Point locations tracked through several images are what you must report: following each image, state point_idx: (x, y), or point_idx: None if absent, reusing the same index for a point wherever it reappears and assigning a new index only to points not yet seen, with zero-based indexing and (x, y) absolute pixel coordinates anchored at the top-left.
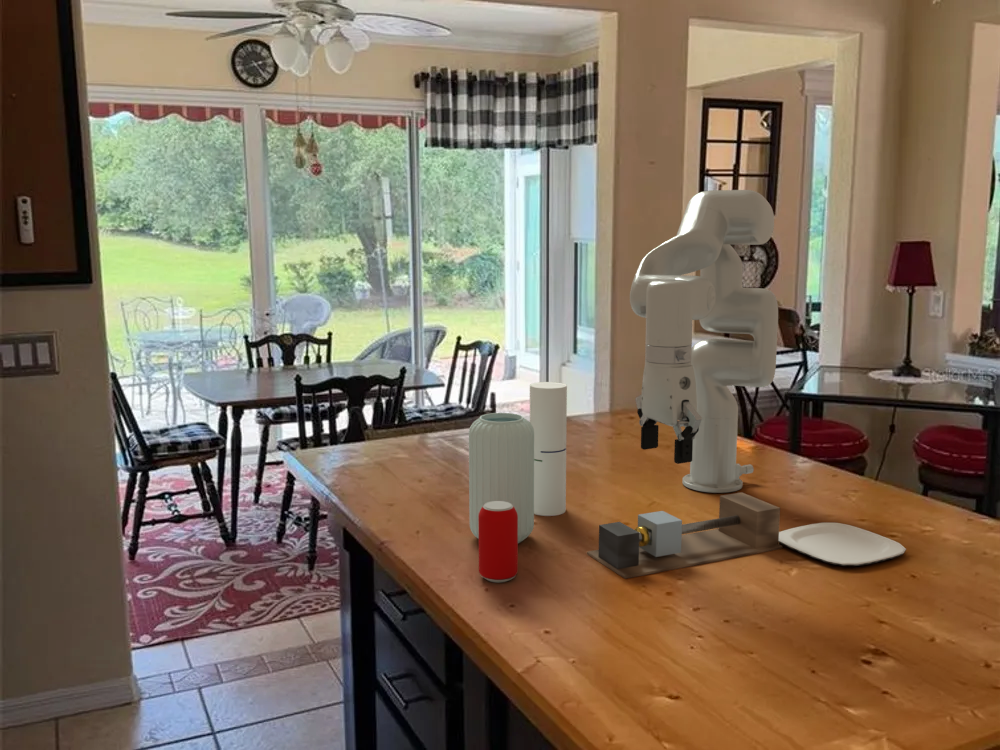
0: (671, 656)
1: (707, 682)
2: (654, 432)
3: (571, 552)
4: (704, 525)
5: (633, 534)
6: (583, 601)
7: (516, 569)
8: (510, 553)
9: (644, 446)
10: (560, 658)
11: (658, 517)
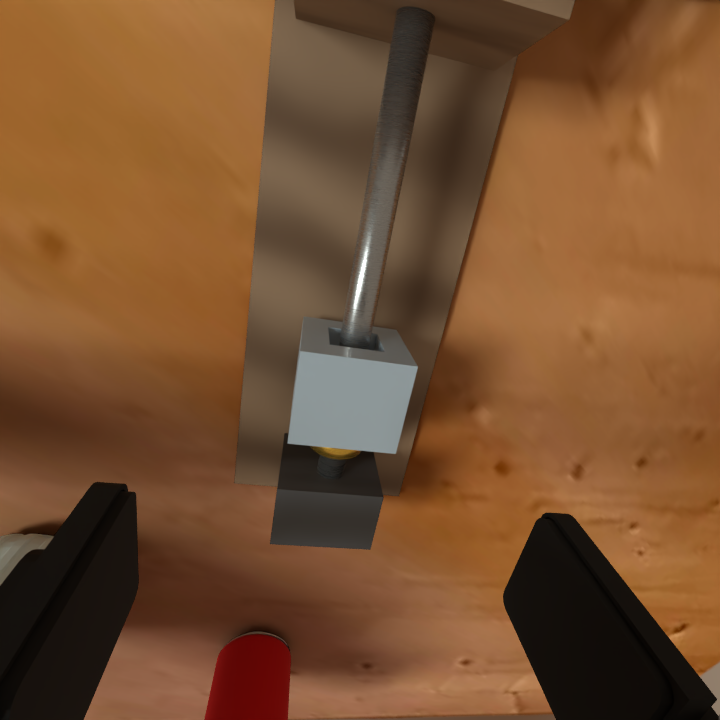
0: (631, 585)
1: (698, 587)
2: (60, 658)
3: (207, 499)
4: (393, 217)
5: (379, 511)
6: (424, 590)
7: (282, 652)
8: (287, 706)
9: (128, 604)
10: (529, 675)
11: (348, 409)
